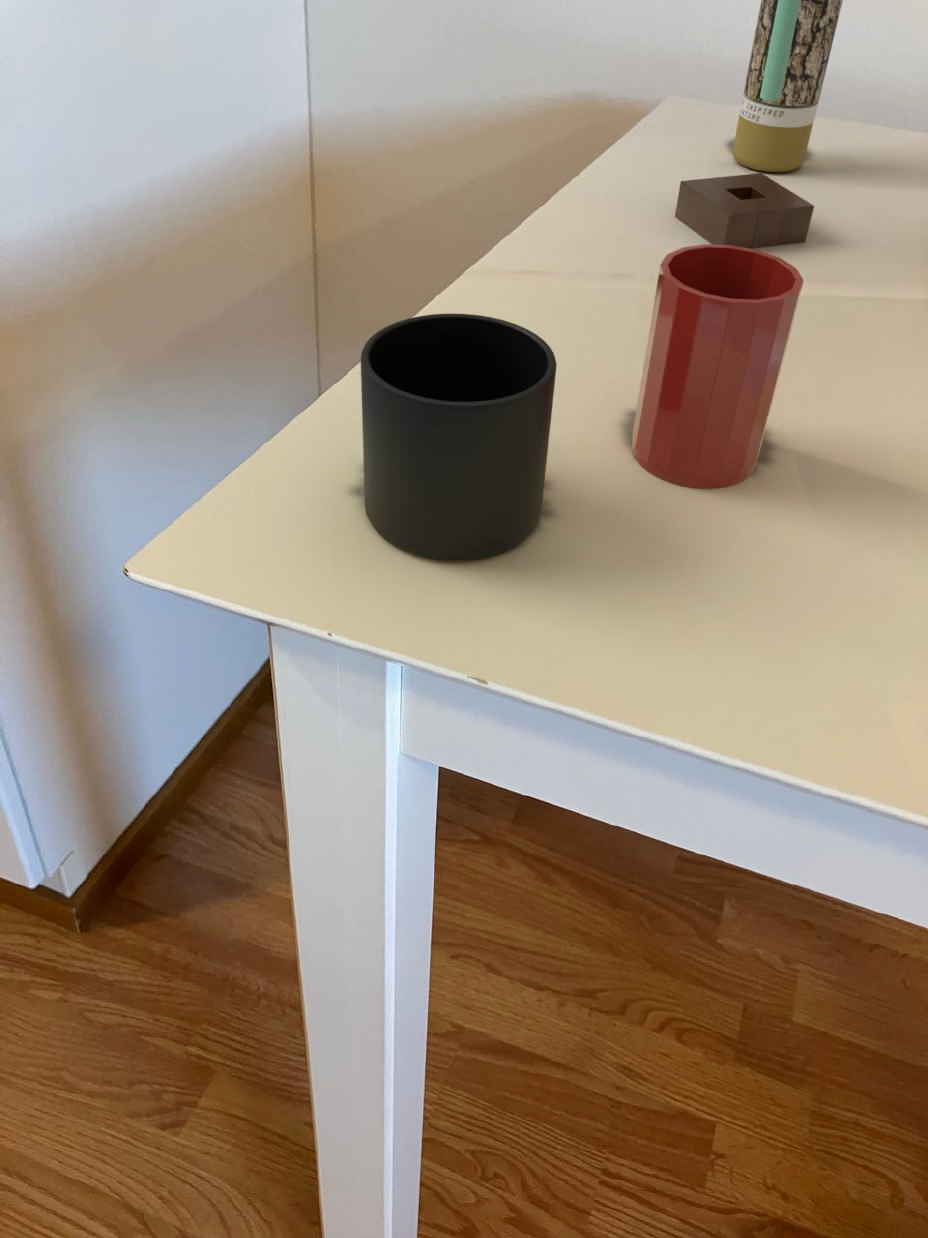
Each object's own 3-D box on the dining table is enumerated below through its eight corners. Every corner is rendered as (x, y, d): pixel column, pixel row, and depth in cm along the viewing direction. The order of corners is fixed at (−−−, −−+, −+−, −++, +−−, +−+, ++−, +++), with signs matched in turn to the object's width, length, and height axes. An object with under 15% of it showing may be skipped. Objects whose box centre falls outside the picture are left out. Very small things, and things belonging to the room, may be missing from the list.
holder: (751, 220, 90) (761, 172, 88) (802, 256, 85) (814, 205, 83) (672, 229, 88) (680, 180, 86) (719, 266, 83) (729, 214, 80)
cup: (741, 423, 65) (784, 246, 58) (768, 490, 60) (818, 304, 53) (624, 419, 65) (652, 241, 58) (640, 486, 60) (673, 299, 52)
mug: (538, 441, 63) (552, 295, 57) (543, 569, 54) (560, 410, 48) (377, 434, 63) (374, 286, 57) (355, 559, 54) (349, 399, 48)
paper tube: (789, 180, 98) (866, -153, 82) (720, 164, 101) (781, -162, 85) (812, 160, 103) (890, -160, 86) (745, 145, 105) (808, -168, 89)
